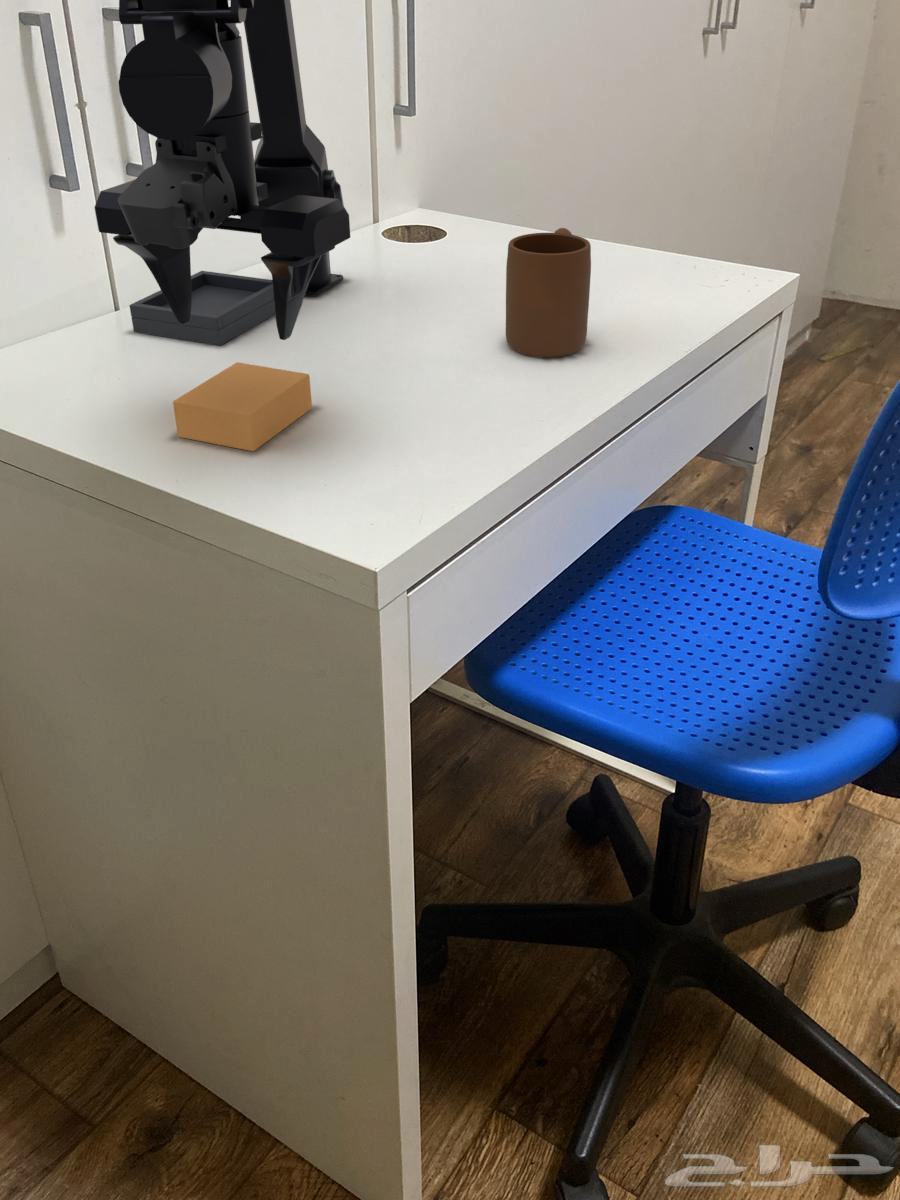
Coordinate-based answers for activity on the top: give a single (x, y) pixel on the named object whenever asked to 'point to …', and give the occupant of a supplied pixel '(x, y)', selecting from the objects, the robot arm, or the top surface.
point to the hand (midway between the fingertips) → (234, 330)
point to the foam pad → (243, 406)
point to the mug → (547, 293)
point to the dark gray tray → (209, 309)
